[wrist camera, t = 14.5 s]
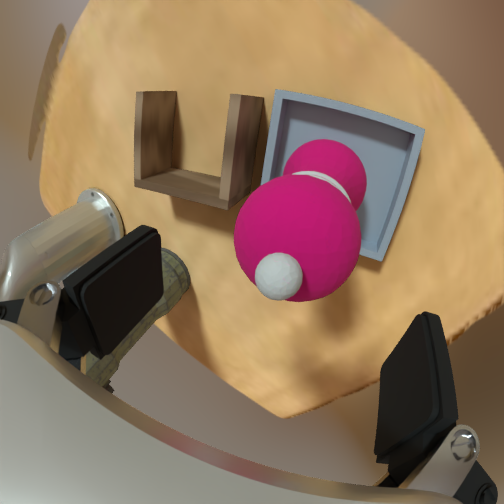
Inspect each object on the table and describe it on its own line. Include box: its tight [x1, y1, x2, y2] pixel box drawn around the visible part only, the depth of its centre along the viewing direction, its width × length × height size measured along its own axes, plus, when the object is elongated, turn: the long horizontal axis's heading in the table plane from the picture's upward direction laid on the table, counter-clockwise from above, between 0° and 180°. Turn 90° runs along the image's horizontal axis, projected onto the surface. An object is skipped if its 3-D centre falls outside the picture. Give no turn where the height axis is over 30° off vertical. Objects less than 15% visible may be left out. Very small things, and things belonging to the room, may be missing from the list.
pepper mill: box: [234, 139, 367, 302], centre depth 18 cm, size 7×7×20 cm
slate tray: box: [261, 89, 425, 262], centre depth 25 cm, size 14×14×3 cm
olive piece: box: [86, 248, 190, 393], centre depth 28 cm, size 9×12×35 cm
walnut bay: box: [134, 91, 263, 210], centre depth 27 cm, size 11×12×6 cm
